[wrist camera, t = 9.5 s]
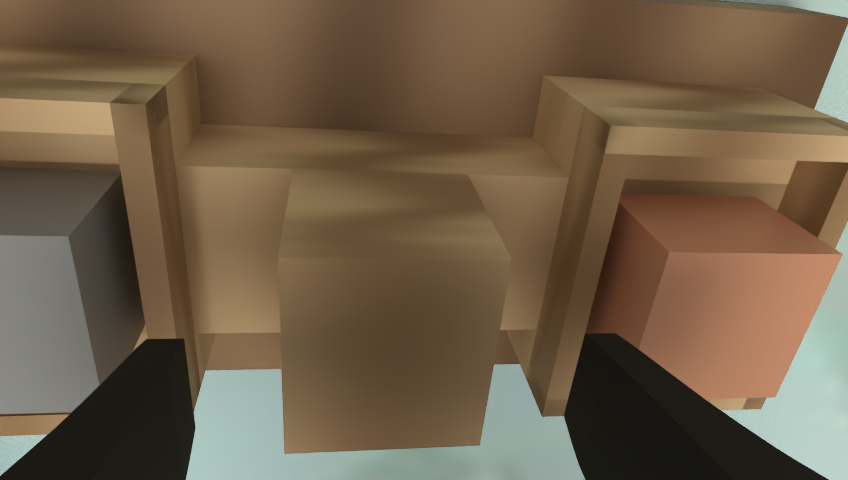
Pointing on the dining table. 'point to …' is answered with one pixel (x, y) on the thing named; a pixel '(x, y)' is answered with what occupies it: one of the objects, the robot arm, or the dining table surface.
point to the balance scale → (398, 228)
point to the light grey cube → (63, 287)
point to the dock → (432, 64)
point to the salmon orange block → (711, 289)
